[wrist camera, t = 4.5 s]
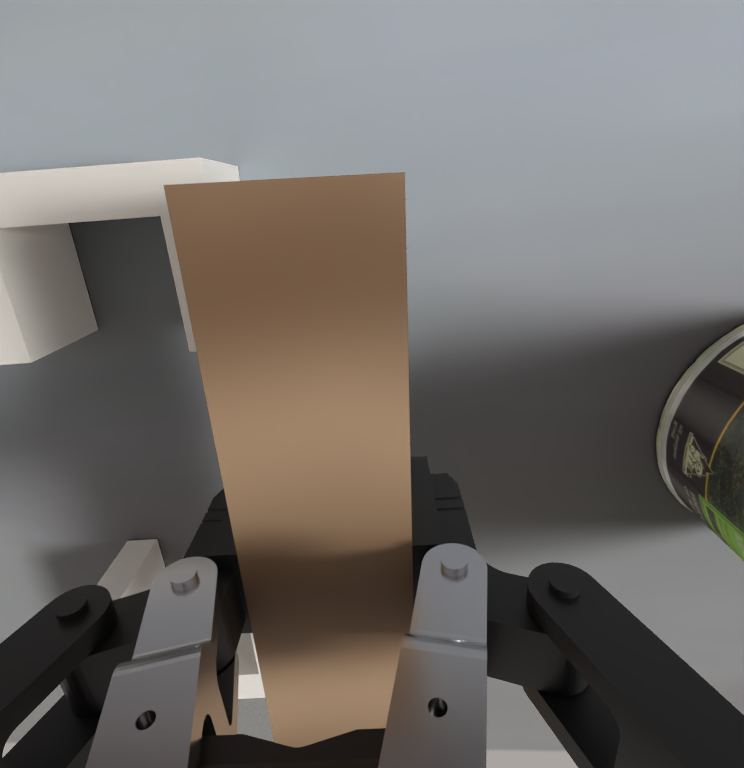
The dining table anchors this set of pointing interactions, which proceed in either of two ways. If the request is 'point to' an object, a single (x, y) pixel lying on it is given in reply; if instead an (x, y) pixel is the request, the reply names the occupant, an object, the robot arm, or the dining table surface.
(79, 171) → the end caps
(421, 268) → the dining table surface
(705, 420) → the coffee can
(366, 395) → the slat
